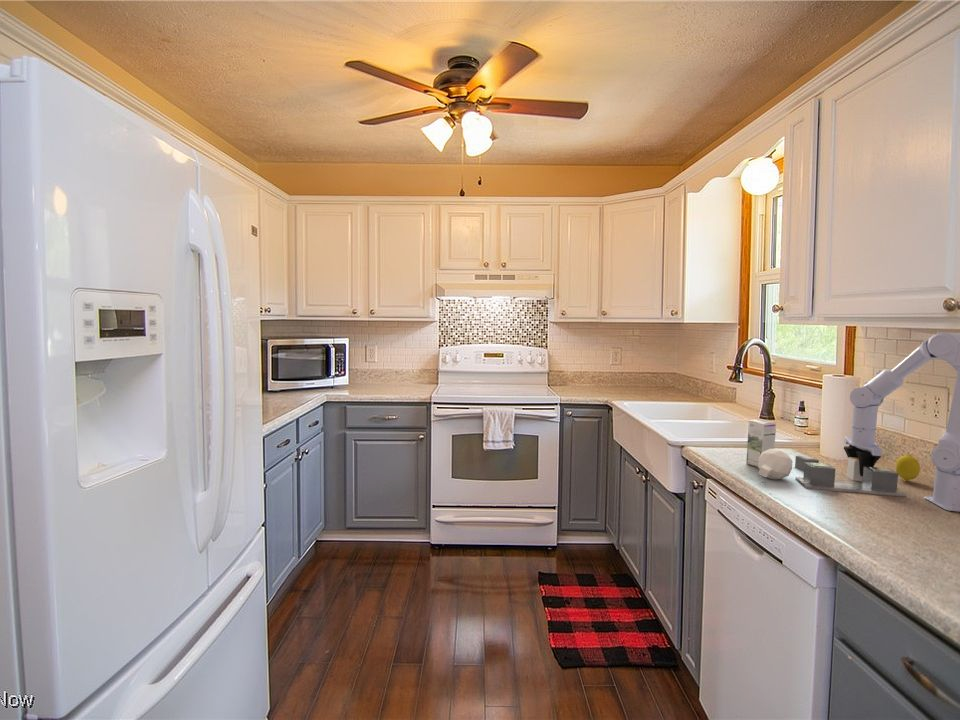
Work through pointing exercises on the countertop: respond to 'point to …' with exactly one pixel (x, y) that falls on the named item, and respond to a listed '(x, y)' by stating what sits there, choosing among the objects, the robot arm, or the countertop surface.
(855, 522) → the countertop surface
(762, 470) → the beige faceted rounded lump
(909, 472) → the lemon
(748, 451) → the syrup box
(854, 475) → the block
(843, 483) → the rail
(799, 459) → the relay block
